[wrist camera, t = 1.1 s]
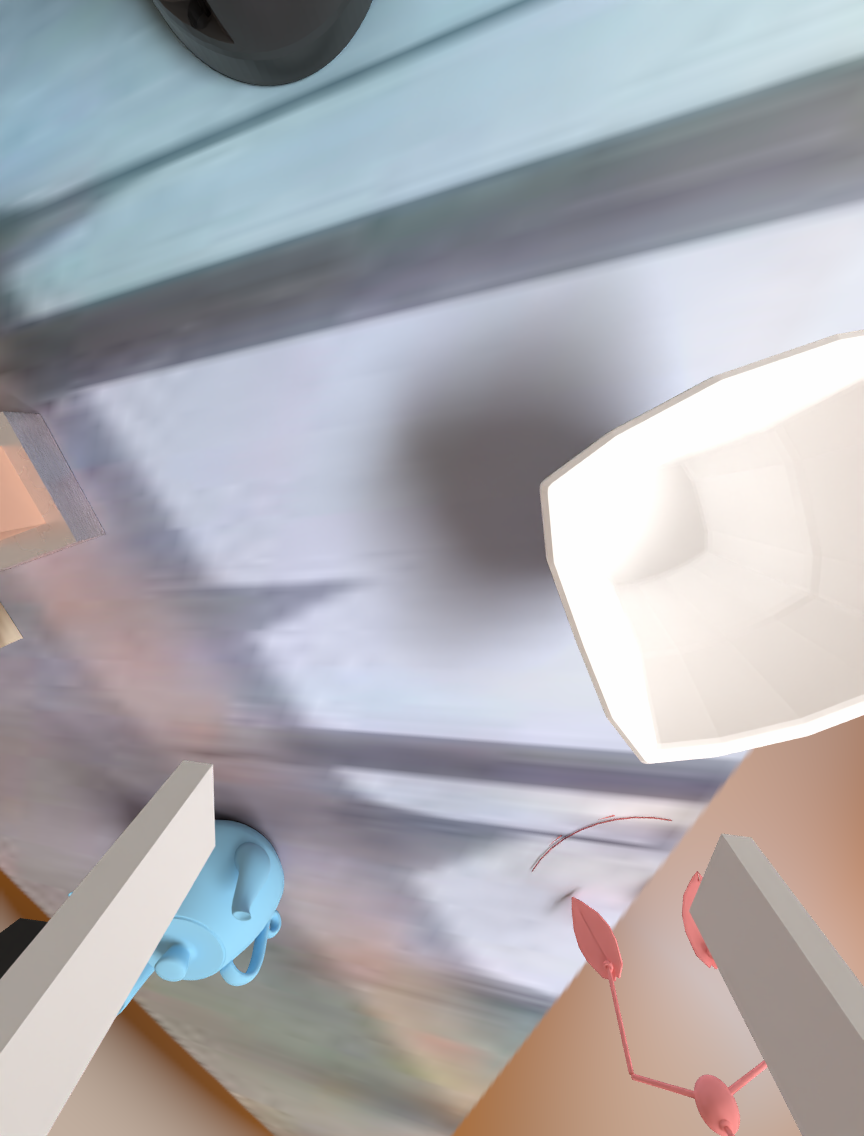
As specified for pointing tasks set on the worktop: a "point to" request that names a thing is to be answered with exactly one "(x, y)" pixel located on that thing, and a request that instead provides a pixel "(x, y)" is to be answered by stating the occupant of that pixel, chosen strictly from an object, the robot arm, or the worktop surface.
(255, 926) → the teapot
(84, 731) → the worktop surface
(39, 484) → the frame
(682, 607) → the bowl
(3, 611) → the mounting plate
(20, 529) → the stud block
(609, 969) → the pink leafy branch
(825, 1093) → the robot arm
